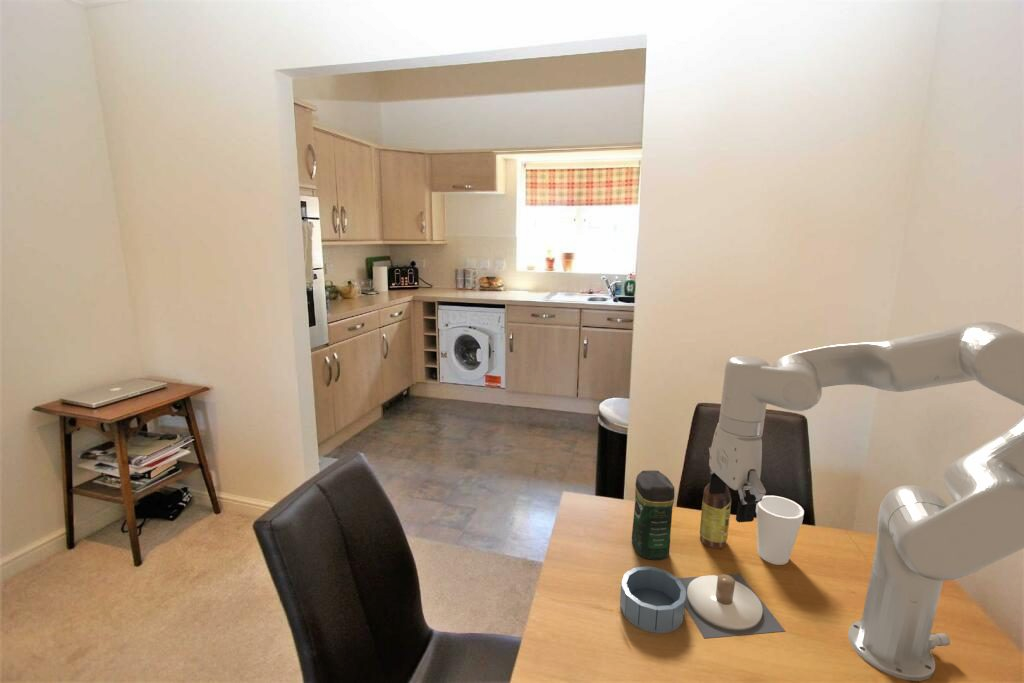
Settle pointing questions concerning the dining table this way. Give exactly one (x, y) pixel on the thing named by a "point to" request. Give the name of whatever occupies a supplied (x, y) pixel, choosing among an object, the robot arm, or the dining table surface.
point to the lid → (724, 602)
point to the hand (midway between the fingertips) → (730, 506)
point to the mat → (712, 631)
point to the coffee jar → (652, 515)
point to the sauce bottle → (715, 518)
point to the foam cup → (777, 528)
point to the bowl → (652, 599)
